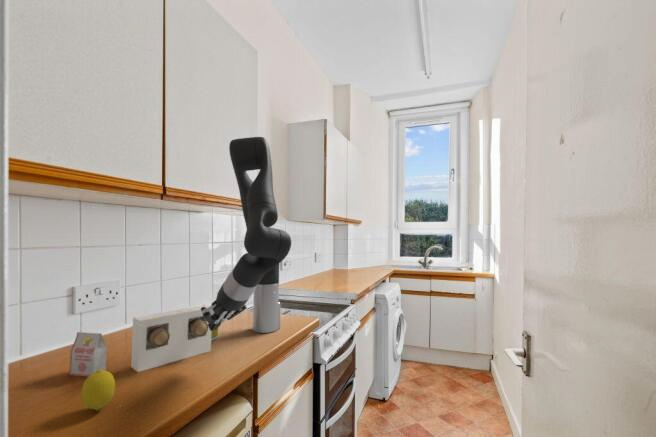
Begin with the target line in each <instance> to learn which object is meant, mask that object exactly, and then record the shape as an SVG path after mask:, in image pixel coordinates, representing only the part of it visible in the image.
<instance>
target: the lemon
mask: <svg viewBox="0 0 656 437" xmlns="http://www.w3.org/2000/svg"><path fill="white" fill-rule="evenodd" d="M115 392H116V380H115V377H114V375H113V374H112V373H111V372H110V371H108V370H106V371H104V370H102V369H99V370H97V372H94V373H93V374H91V375H90V376H89V377H87V378H86V379H85V381H84V383H83V385H82V388H81V396H80V397H81V401H82V405H84V407H85V408H87V409H91V410H95V411H97V412H98V411H100V410H101V408H103V407H104V406H106V405H107V404H109V402H111V400H112V399H113V397H114V394H115Z"/></svg>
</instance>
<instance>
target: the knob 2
mask: <svg viewBox="0 0 656 437" xmlns="http://www.w3.org/2000/svg"><path fill="white" fill-rule="evenodd" d="M188 327H189V332H190V333H191V334H193V335H195V336H197V337H201V336H203V335H205V334H206V332H207V331H208V324H207V323H206V322H205V321H202V320H200V319H195V320H193V321H191V322H190V323H189V324H188Z"/></svg>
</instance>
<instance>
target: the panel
mask: <svg viewBox="0 0 656 437" xmlns="http://www.w3.org/2000/svg"><path fill="white" fill-rule="evenodd" d="M202 307H206V308H208V307H210V306H209V305H205V304H203V305H197V306H191V307H185V308H177V309H173V310H167V311H162V312H155V313H150V314H144V315H143V314H142V315H138V316H133V317H132V337H131V358H130V363H131V364H130V367H131V368H132V369H133V370H134V371H135V372H137V373H140V372H143V371H147V370H151V369H153V368H157V367H161V366H165V365H167V364H171V363H175V362H179V361H182V360H184V359H188V358H191V357H194V356H198V355H201V354H205V353H208V352H211V351H212V340H211V330H210V329H209V326H208V331H207V332H206V334H205V335H203V336H201V337H197V336H195V335H193V334H191V333H190V332H189V327H188V324H189V323H190V322H191V321H193V320H195V319H200V320H202V321H205V322H206V323H207V324H208V322H207V321H206V319H205V318H204V317H203V314H202V311H201V308H202ZM211 315H212V313H211ZM156 327H161V328H163V329H165V330H167V331H168V332H169V334H170V337H169V340H168V342H167V343H166V344H165V345H164V346H161V347H156V346H154V345H152V344H151V343H149V341H148V333H149V331H150V330H152V329H154V328H156Z"/></svg>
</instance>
